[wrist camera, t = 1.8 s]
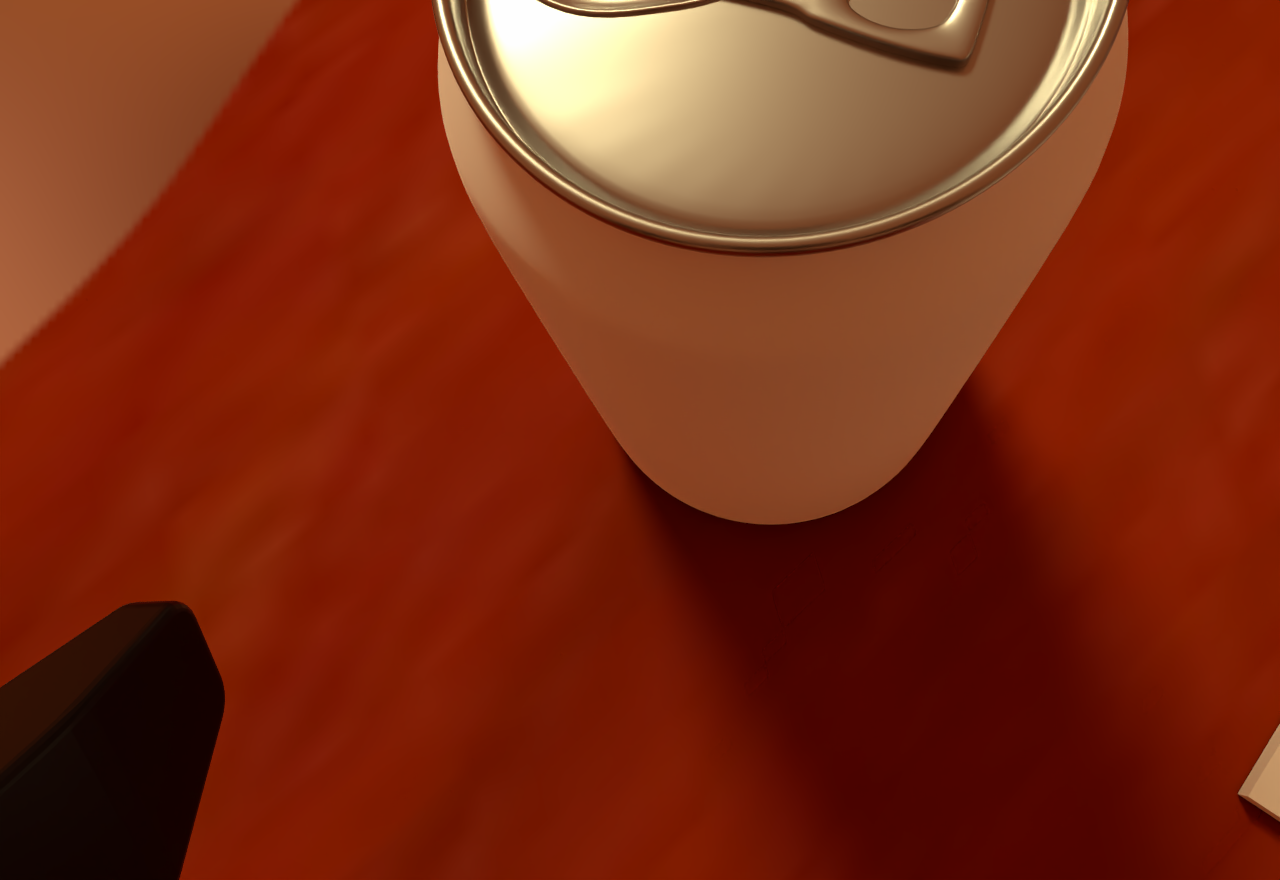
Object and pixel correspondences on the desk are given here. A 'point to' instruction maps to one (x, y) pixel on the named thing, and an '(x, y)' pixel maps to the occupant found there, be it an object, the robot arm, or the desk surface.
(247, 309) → the desk surface
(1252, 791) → the beige mat
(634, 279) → the can
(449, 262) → the desk surface
